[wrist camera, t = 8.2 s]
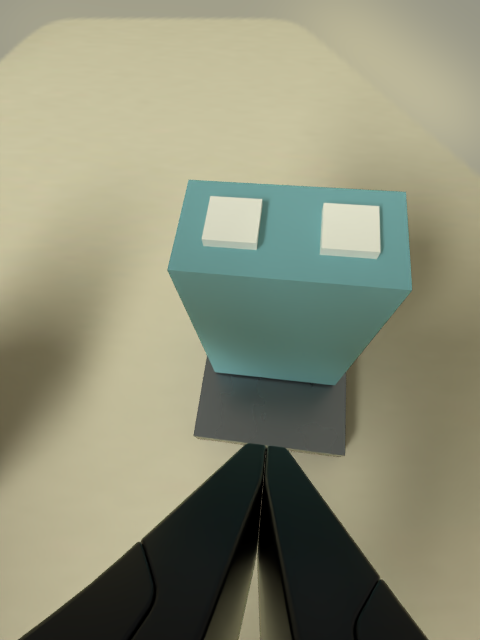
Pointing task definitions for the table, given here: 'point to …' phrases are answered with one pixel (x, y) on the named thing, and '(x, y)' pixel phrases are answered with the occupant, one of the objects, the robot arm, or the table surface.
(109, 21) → the table surface
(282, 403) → the key two base
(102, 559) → the table surface
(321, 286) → the key two
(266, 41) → the table surface
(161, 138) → the table surface
